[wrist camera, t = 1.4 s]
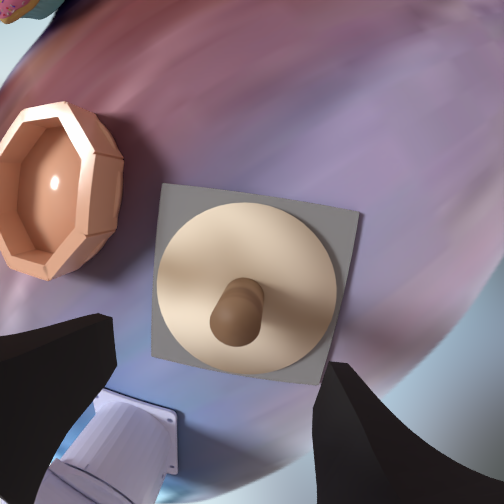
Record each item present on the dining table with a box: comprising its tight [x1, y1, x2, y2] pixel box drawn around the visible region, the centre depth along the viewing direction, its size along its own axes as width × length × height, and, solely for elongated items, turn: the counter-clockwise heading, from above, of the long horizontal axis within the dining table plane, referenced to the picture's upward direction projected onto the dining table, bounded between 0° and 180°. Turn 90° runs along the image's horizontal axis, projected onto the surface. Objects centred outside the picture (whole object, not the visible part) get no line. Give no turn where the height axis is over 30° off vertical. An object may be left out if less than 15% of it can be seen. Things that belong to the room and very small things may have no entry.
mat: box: [151, 183, 359, 385], centre depth 18 cm, size 12×12×1 cm
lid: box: [157, 202, 337, 374], centre depth 16 cm, size 11×11×5 cm
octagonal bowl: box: [0, 101, 124, 281], centre depth 16 cm, size 12×12×4 cm
